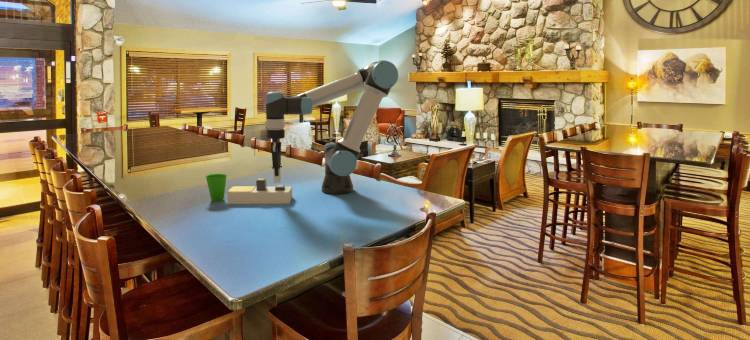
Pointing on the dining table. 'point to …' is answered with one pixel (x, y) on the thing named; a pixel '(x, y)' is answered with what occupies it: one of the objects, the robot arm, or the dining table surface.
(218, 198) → the cup
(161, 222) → the dining table surface
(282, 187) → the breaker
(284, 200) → the box
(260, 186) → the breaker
